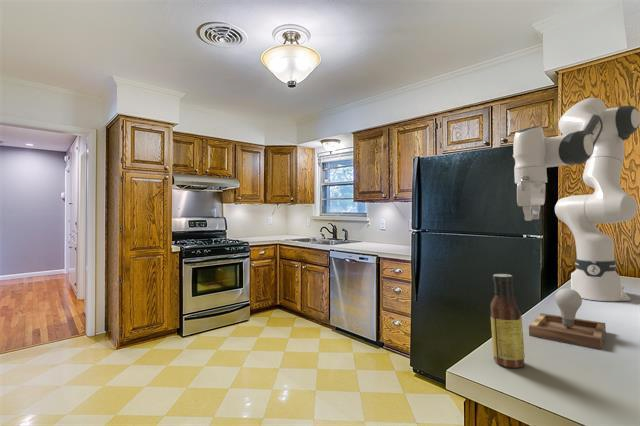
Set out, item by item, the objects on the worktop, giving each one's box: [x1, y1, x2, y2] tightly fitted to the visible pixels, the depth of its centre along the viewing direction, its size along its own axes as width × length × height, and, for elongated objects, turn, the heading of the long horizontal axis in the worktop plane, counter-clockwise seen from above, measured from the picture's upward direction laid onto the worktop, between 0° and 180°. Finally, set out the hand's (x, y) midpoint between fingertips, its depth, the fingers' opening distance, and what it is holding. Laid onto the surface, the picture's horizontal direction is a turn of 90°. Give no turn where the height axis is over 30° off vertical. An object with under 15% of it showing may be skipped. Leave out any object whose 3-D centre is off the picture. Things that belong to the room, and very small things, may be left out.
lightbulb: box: [554, 287, 583, 328], centre depth 93 cm, size 6×6×11 cm
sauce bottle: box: [489, 273, 526, 369], centre depth 76 cm, size 7×6×20 cm
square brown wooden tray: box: [528, 313, 607, 350], centre depth 92 cm, size 15×15×2 cm
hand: (532, 219), depth 108 cm, fingers open, 8 cm apart
